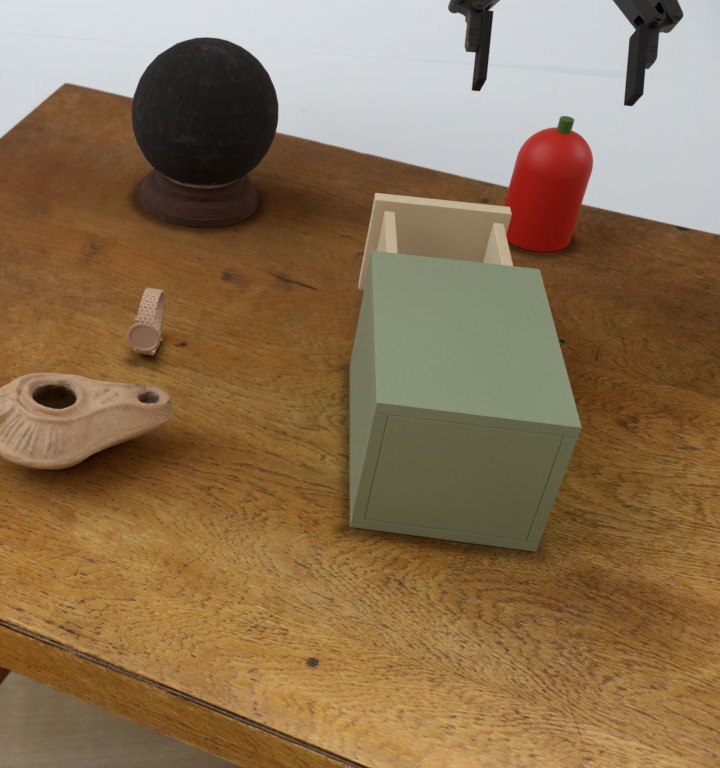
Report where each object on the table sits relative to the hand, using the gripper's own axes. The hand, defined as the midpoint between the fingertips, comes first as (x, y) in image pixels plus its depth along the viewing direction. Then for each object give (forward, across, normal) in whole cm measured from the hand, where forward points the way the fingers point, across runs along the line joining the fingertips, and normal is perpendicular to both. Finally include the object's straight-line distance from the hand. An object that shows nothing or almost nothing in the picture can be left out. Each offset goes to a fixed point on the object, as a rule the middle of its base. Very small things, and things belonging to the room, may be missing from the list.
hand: (555, 93), depth 100 cm
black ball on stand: (+12, -31, +4) cm, 33 cm away
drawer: (+25, -11, -11) cm, 29 cm away
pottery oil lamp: (+39, -35, -23) cm, 57 cm away
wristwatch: (+30, -32, -14) cm, 46 cm away
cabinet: (+36, -11, -20) cm, 42 cm away
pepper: (+12, 0, +4) cm, 13 cm away
